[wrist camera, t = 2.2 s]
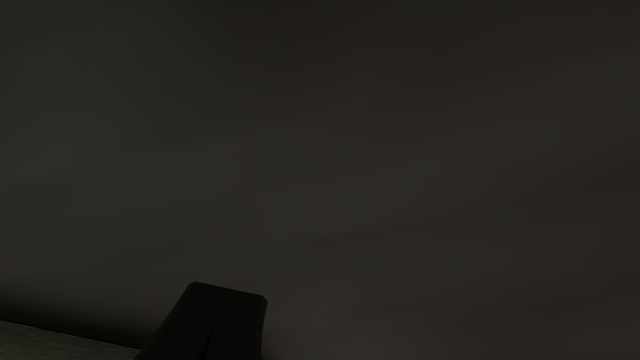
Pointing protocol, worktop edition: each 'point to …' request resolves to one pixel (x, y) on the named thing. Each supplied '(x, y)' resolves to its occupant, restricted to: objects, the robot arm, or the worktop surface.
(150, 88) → the worktop surface
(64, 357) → the slot rails
